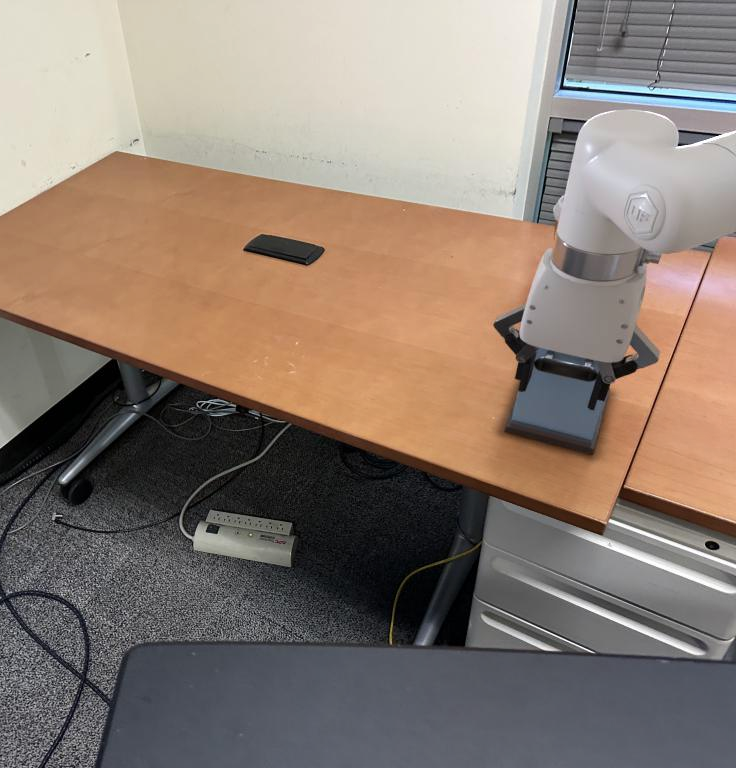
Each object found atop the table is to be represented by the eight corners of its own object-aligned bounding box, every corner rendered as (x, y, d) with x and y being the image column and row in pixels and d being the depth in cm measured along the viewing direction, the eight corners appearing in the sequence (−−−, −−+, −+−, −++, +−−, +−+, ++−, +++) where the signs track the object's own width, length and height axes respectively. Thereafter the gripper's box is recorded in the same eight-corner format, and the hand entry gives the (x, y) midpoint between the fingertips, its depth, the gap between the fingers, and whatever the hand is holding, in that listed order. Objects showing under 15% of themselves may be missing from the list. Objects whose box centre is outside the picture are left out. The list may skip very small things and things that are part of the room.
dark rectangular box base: (526, 375, 93) (528, 364, 92) (608, 393, 88) (611, 382, 87) (504, 431, 85) (506, 421, 84) (592, 455, 81) (595, 444, 80)
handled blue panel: (530, 338, 80) (522, 354, 76) (616, 356, 75) (612, 374, 72) (512, 418, 85) (504, 436, 82) (592, 439, 81) (587, 459, 77)
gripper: (708, 248, 62) (651, 393, 74) (510, 218, 70) (487, 354, 82) (700, 291, 58) (640, 438, 70) (490, 254, 66) (468, 392, 78)
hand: (558, 391), depth 76 cm, fingers closed on handled blue panel, 6 cm apart
